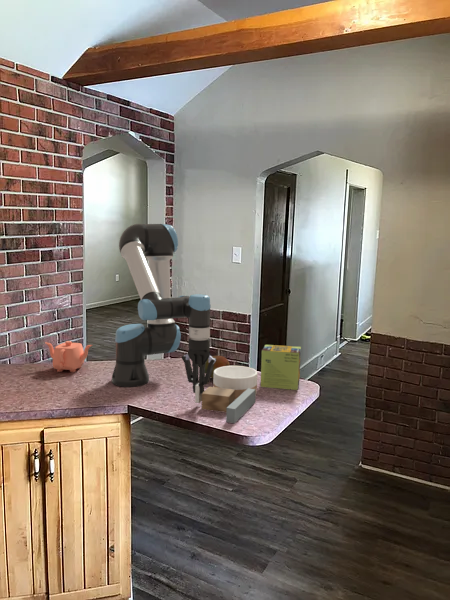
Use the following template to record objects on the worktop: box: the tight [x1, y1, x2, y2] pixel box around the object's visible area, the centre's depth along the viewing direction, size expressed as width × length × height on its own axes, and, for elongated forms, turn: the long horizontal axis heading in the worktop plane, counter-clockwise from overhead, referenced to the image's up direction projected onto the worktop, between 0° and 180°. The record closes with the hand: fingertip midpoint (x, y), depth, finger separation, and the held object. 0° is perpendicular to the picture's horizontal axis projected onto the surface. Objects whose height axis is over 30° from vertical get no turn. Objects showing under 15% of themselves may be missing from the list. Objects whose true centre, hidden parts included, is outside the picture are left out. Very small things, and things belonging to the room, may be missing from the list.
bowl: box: [212, 365, 258, 400], centre depth 203 cm, size 17×17×8 cm
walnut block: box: [201, 386, 236, 413], centre depth 186 cm, size 10×8×6 cm
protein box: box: [260, 344, 302, 391], centre depth 212 cm, size 10×15×16 cm
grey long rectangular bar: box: [225, 388, 257, 424], centre depth 182 cm, size 3×22×5 cm, turn 159°
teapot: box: [44, 340, 93, 373], centre depth 228 cm, size 15×17×13 cm
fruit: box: [205, 355, 231, 379], centre depth 220 cm, size 12×12×10 cm
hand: (198, 401), depth 187 cm, fingers closed
